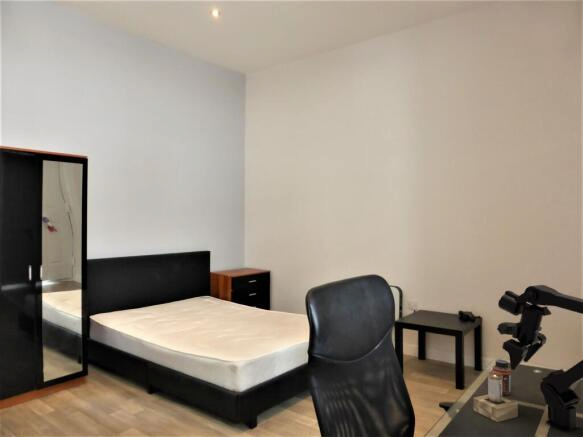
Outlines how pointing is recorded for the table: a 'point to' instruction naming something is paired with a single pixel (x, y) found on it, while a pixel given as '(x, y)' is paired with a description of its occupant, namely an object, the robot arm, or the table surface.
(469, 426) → the table surface
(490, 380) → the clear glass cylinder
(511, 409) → the mount
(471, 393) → the table surface
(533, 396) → the table surface
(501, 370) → the supplement bottle
